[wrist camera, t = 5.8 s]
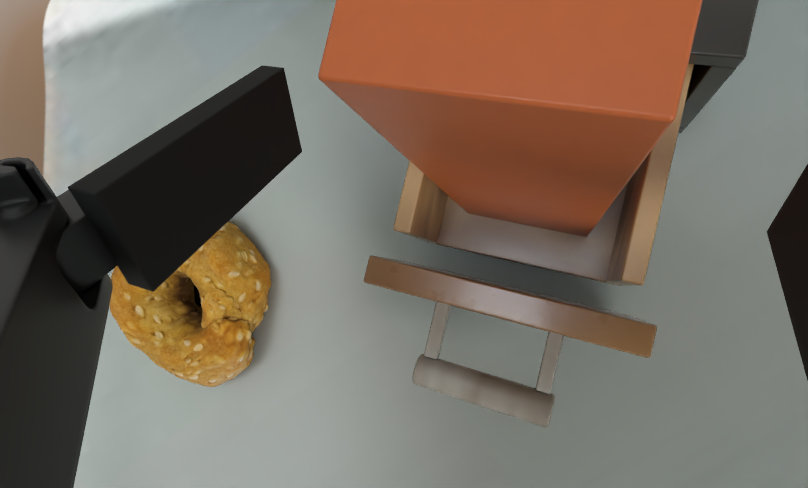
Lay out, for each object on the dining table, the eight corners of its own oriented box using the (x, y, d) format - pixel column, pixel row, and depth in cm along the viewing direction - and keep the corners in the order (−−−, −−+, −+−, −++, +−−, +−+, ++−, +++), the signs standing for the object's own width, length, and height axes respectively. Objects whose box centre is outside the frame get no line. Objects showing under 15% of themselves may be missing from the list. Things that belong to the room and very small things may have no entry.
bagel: (172, 398, 31) (107, 417, 27) (143, 243, 33) (78, 236, 28) (299, 362, 29) (252, 376, 24) (260, 196, 30) (209, 180, 26)
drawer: (604, 422, 22) (624, 472, 16) (388, 354, 26) (340, 374, 20) (680, 90, 23) (727, 19, 17) (456, 67, 26) (429, 2, 20)
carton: (610, 136, 22) (751, -210, 7) (587, 237, 22) (675, 121, 7) (488, 120, 24) (378, -182, 9) (466, 213, 24) (315, 78, 9)
